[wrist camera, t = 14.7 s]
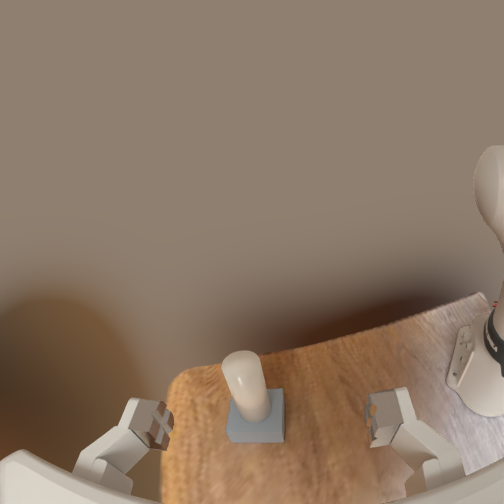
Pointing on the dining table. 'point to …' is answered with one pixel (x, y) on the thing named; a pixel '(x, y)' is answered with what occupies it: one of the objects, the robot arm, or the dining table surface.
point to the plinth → (262, 431)
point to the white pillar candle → (247, 385)
